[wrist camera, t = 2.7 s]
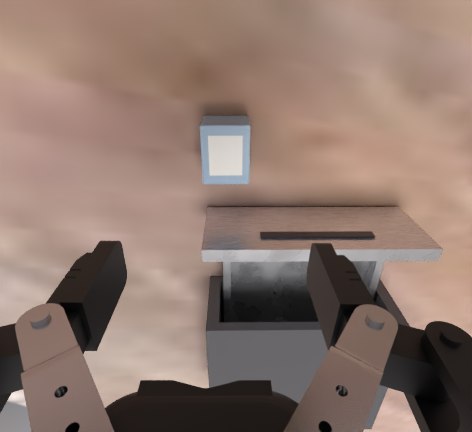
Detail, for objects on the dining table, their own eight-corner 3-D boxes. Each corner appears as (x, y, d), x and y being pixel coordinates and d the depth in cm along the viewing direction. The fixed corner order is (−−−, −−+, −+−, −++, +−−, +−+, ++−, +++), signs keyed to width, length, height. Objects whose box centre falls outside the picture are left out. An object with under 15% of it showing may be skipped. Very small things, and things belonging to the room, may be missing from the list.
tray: (207, 205, 32) (201, 248, 25) (399, 205, 32) (443, 247, 26) (212, 327, 41) (209, 383, 34) (364, 326, 41) (389, 381, 34)
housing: (210, 276, 37) (205, 330, 30) (377, 275, 37) (411, 329, 30) (214, 371, 46) (211, 431, 39) (349, 370, 46) (371, 428, 39)
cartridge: (247, 115, 28) (250, 125, 25) (246, 167, 31) (249, 183, 27) (203, 115, 28) (199, 125, 25) (206, 168, 30) (203, 184, 27)
